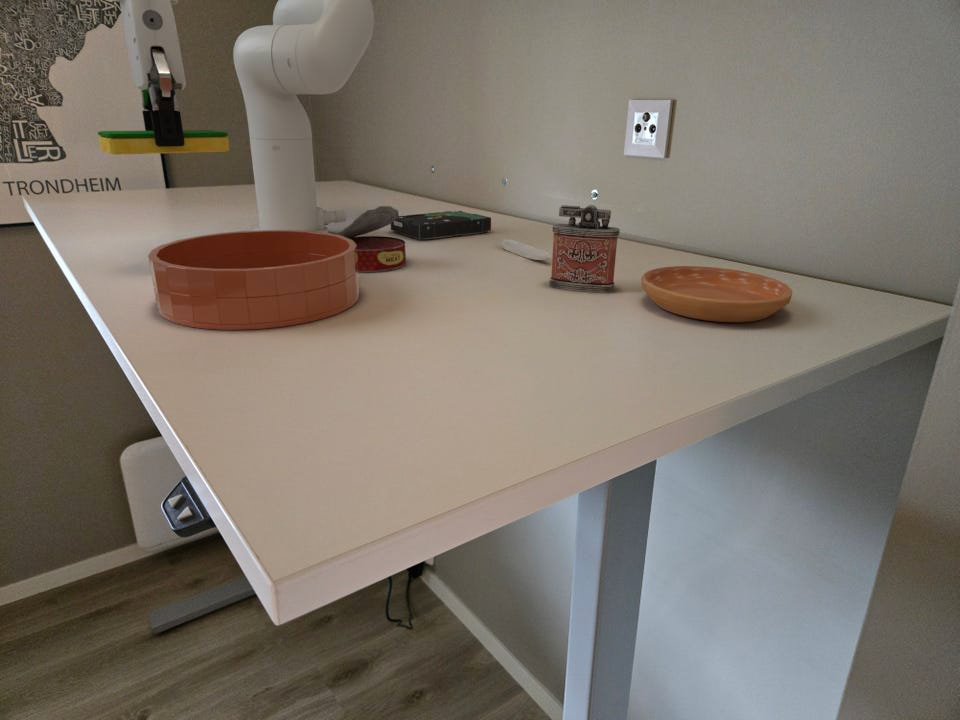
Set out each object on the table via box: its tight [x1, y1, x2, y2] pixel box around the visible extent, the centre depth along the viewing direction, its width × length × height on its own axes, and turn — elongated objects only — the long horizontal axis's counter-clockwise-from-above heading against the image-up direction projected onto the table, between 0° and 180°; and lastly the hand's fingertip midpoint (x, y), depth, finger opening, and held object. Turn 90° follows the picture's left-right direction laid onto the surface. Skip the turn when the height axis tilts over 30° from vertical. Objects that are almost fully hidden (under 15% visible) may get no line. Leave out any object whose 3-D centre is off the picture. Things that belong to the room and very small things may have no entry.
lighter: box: [549, 204, 621, 293], centre depth 79 cm, size 8×3×10 cm, turn 71°
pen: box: [500, 238, 552, 261], centre depth 97 cm, size 2×14×2 cm, turn 27°
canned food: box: [337, 205, 407, 273], centre depth 90 cm, size 11×10×10 cm
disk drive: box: [390, 210, 492, 240], centre depth 114 cm, size 10×3×15 cm
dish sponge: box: [97, 129, 230, 155], centre depth 83 cm, size 7×14×2 cm, turn 128°
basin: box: [147, 230, 360, 331], centre depth 73 cm, size 22×22×6 cm
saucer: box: [640, 265, 793, 323], centre depth 73 cm, size 16×16×3 cm
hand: (165, 143), depth 83 cm, fingers closed on dish sponge, 7 cm apart
